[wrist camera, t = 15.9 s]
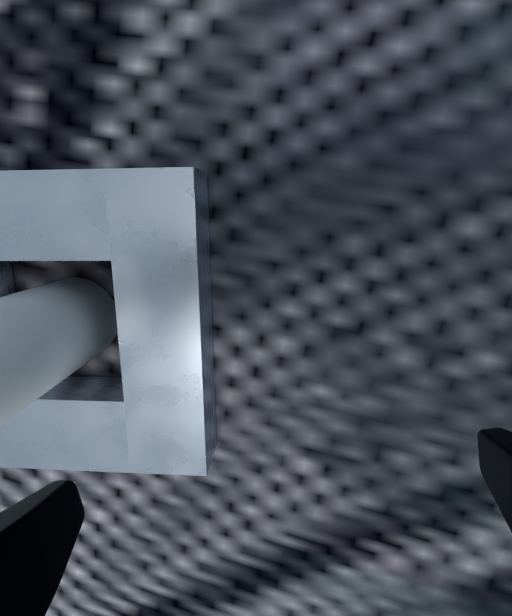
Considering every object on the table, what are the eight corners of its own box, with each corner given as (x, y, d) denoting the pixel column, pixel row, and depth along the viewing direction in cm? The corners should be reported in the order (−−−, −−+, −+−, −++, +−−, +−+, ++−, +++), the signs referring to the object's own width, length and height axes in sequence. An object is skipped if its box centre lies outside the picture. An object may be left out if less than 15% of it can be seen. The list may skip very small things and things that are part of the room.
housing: (207, 173, 20) (193, 167, 17) (216, 443, 23) (206, 475, 20) (-73, 178, 21) (-131, 173, 18) (-25, 434, 25) (-67, 464, 22)
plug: (129, 296, 22) (-24, 375, 11) (105, 367, 23) (-56, 501, 12) (52, 264, 22) (-176, 312, 11) (32, 337, 23) (-195, 444, 12)
